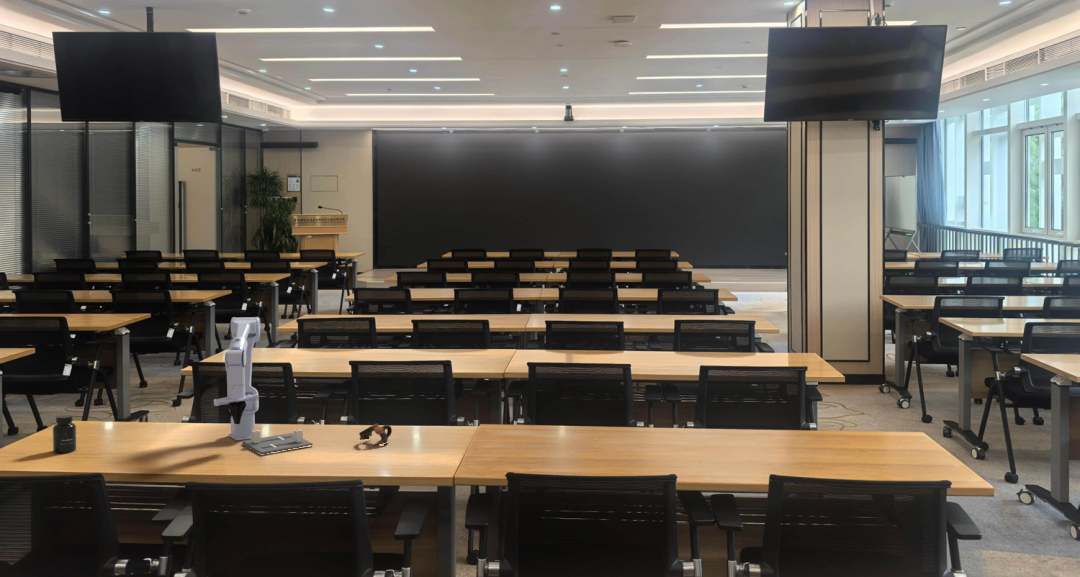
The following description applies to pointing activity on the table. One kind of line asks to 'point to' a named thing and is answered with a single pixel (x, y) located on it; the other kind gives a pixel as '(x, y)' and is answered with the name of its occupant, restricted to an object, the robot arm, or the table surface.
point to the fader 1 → (255, 436)
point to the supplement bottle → (64, 435)
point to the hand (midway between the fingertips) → (236, 423)
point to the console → (275, 443)
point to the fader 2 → (298, 435)
